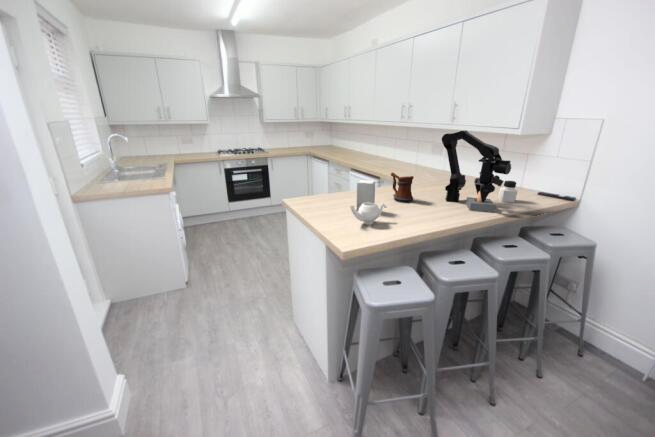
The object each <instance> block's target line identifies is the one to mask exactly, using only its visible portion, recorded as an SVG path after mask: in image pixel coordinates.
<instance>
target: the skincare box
mask: <svg viewBox="0 0 655 437" xmlns="http://www.w3.org/2000/svg"><path fill="white" fill-rule="evenodd" d="M375 198H376V180H367V179H360V180H359V181H357V183H356V211H357V212H359V208H360V206H361V205H362V204H363V203H365V202H372V203H375V201H376V200H375ZM375 204H376V203H375Z"/></svg>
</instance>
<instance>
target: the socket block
mask: <svg viewBox="0 0 655 437" xmlns="http://www.w3.org/2000/svg"><path fill="white" fill-rule="evenodd" d="M465 205H466V207H467V209H468V210H469V211H474V212H475V211H476V212H484V213H495V210H496V206H497V205H496V203H494V201H492V199H490V198H486V200H485V203H482V202H477V197H469V196H468V197H466V201H465Z"/></svg>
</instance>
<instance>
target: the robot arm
mask: <svg viewBox="0 0 655 437" xmlns="http://www.w3.org/2000/svg"><path fill="white" fill-rule="evenodd" d="M460 140H463V141H465V142H466V143H467V144H469V145H470V146H472V147H474V148H475V149H476V150H477V151H478V152H479V154H480V155H481V156H482V157H481V158H480V159H479V160H478V162H479V163H480V162H481V169H480V171H479V172H478V173H479V177H476V178H475V179H474V187H475V191H476V194H477V196H478V192H479V191H480V195H481V200H482V202H484V201H485V200H486V199H488V198H487V197H488V196H489V194H490V193H493V192H495V191H496V187H495V185H496V186H498V187H502V184H504V182H505V181H504V180H503V179H501V178H500V177H501V176H499V175H498V174H502V175H509V174H510V173H511V170H512V164H511V160H509V159H508V160H505V159H503V158H502V156H501V154H500V149H499V148H498V147H497V146H494V145H492V144H488V143H486V142H484V141H482V140H481V139H480V138H478V137H476V136H475V135H473V134H472V133H470V132H469V131H468V130H460V131H457V132H452V133H445V134H443V135H442V137H441V142H442V145H443V147H444V148H445V150H446V152H447V159H448V163H449V169H450V178H449V184H447V185H446V186H445V187H444V190H445V191H446V195H445V198H444V199H445V202H453V203H458V202H459V200H460V195H461V193H460V191H461V190H462V189H463V188H464V187H465V186H466V182H467V180H466V174H462V173H461V169H460V164H459V159H458V153H457V145H458V141H460ZM494 173H496V175H494Z"/></svg>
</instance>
